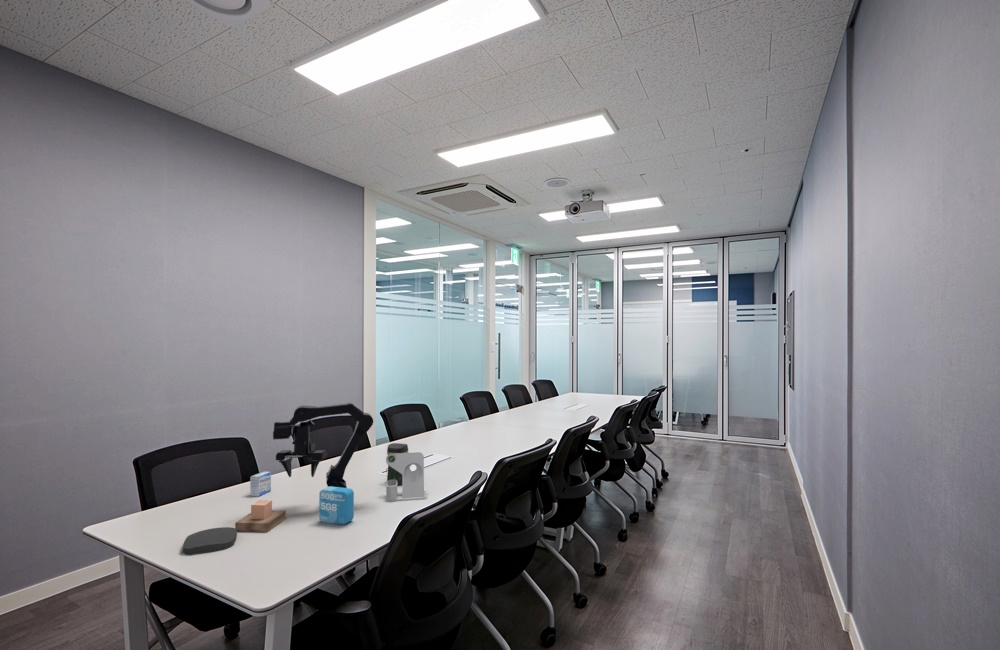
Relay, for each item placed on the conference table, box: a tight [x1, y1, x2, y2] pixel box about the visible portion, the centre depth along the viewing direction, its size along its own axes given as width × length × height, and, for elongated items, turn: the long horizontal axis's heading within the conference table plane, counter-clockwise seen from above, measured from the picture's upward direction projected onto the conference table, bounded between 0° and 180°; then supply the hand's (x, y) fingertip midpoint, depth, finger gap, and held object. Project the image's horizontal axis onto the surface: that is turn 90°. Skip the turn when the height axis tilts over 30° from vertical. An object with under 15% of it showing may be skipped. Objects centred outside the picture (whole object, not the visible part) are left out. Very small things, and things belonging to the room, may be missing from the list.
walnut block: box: [234, 510, 287, 533], centre depth 172 cm, size 12×12×3 cm
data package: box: [318, 486, 355, 526], centre depth 175 cm, size 12×4×12 cm, turn 74°
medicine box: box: [249, 471, 272, 497], centre depth 207 cm, size 8×4×9 cm, turn 168°
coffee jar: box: [386, 442, 409, 486], centre depth 223 cm, size 10×8×19 cm
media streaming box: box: [182, 526, 238, 556], centre depth 156 cm, size 15×15×3 cm
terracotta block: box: [250, 499, 273, 519], centre depth 172 cm, size 5×5×5 cm
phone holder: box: [385, 451, 428, 503], centre depth 203 cm, size 17×10×18 cm, turn 102°
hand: (301, 476), depth 188 cm, fingers open, 9 cm apart
